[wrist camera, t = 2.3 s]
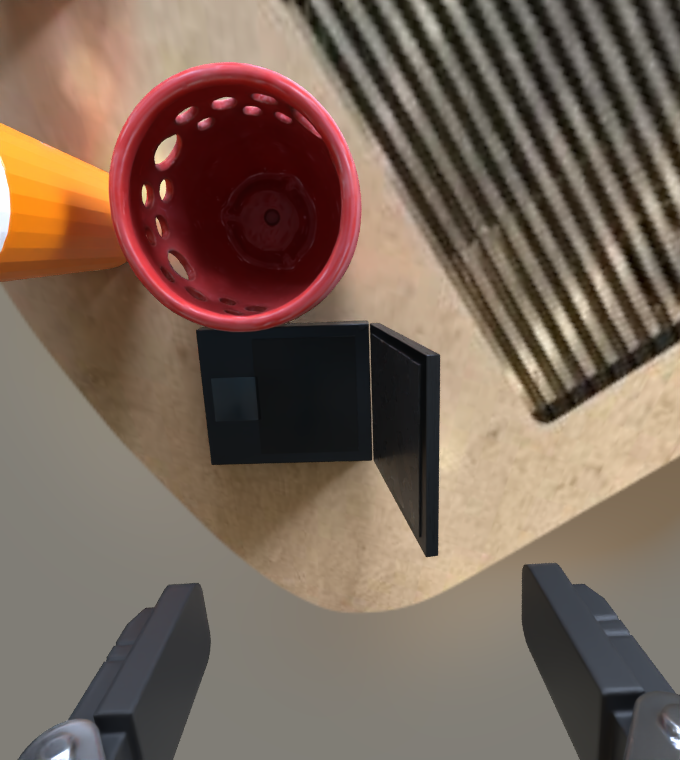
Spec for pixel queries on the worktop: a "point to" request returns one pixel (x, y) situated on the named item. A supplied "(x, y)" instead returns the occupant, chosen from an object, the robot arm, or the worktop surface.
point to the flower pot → (235, 197)
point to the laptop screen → (407, 428)
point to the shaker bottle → (52, 212)
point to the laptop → (287, 393)
